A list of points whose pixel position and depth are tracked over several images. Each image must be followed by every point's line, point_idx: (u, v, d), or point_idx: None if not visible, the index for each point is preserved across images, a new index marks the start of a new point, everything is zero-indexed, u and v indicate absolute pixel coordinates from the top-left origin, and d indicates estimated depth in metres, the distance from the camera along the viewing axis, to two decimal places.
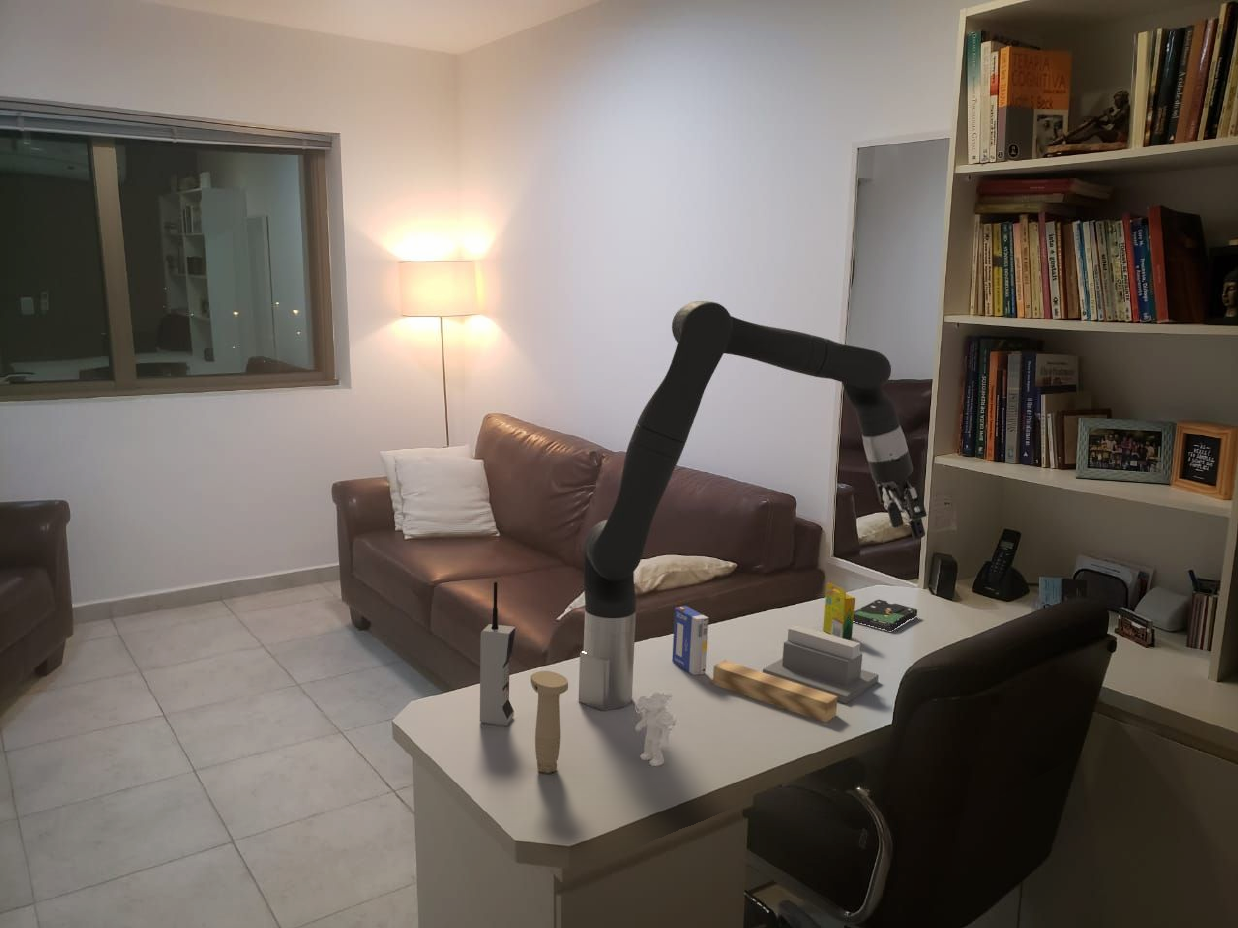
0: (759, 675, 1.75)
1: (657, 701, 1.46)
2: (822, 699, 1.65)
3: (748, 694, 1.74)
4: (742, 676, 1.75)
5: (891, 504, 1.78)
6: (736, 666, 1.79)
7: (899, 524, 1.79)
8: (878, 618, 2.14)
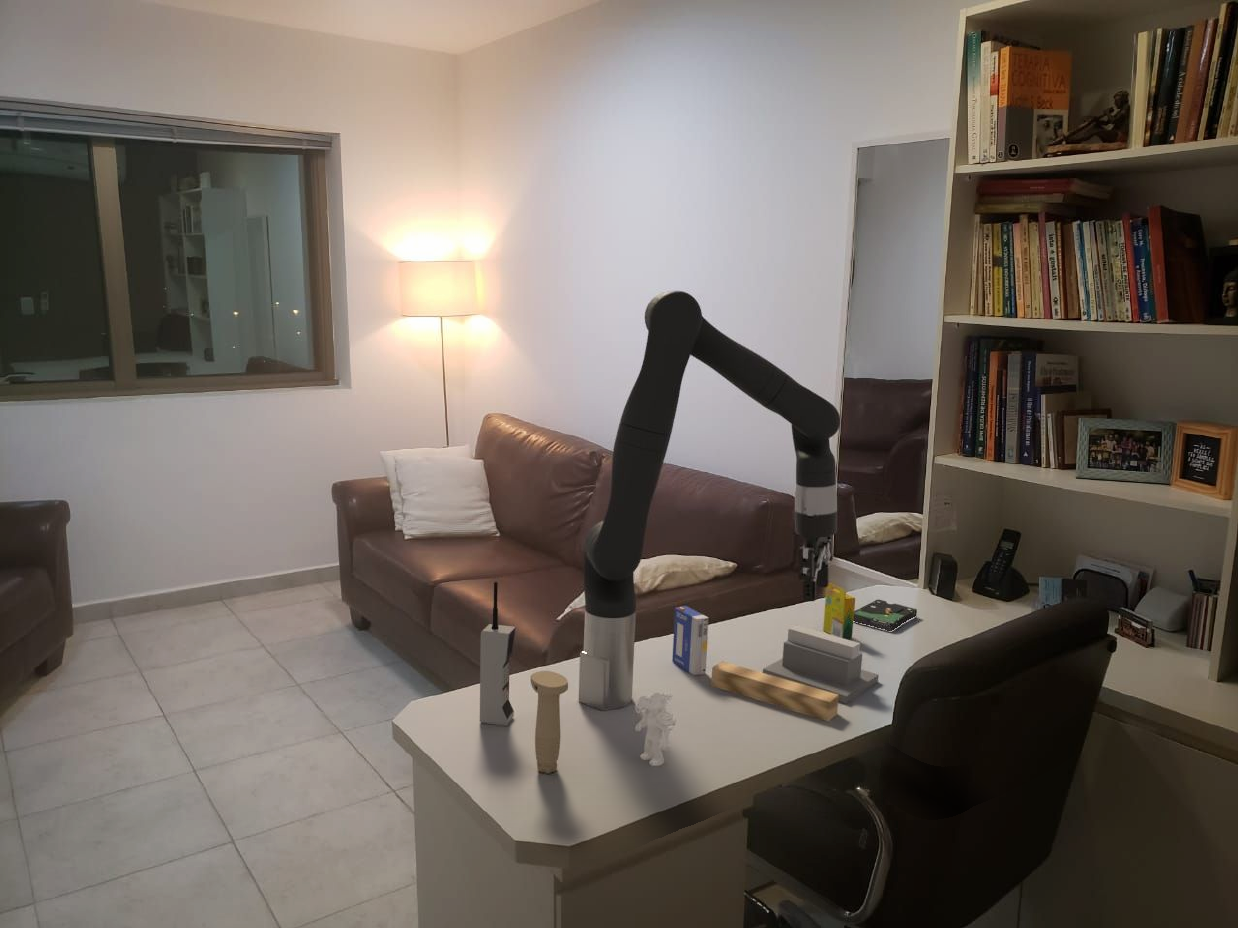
0: (758, 675, 1.75)
1: (657, 701, 1.46)
2: (824, 698, 1.66)
3: (748, 695, 1.74)
4: (742, 677, 1.74)
5: None
6: (734, 667, 1.78)
7: (822, 585, 1.74)
8: (878, 618, 2.14)
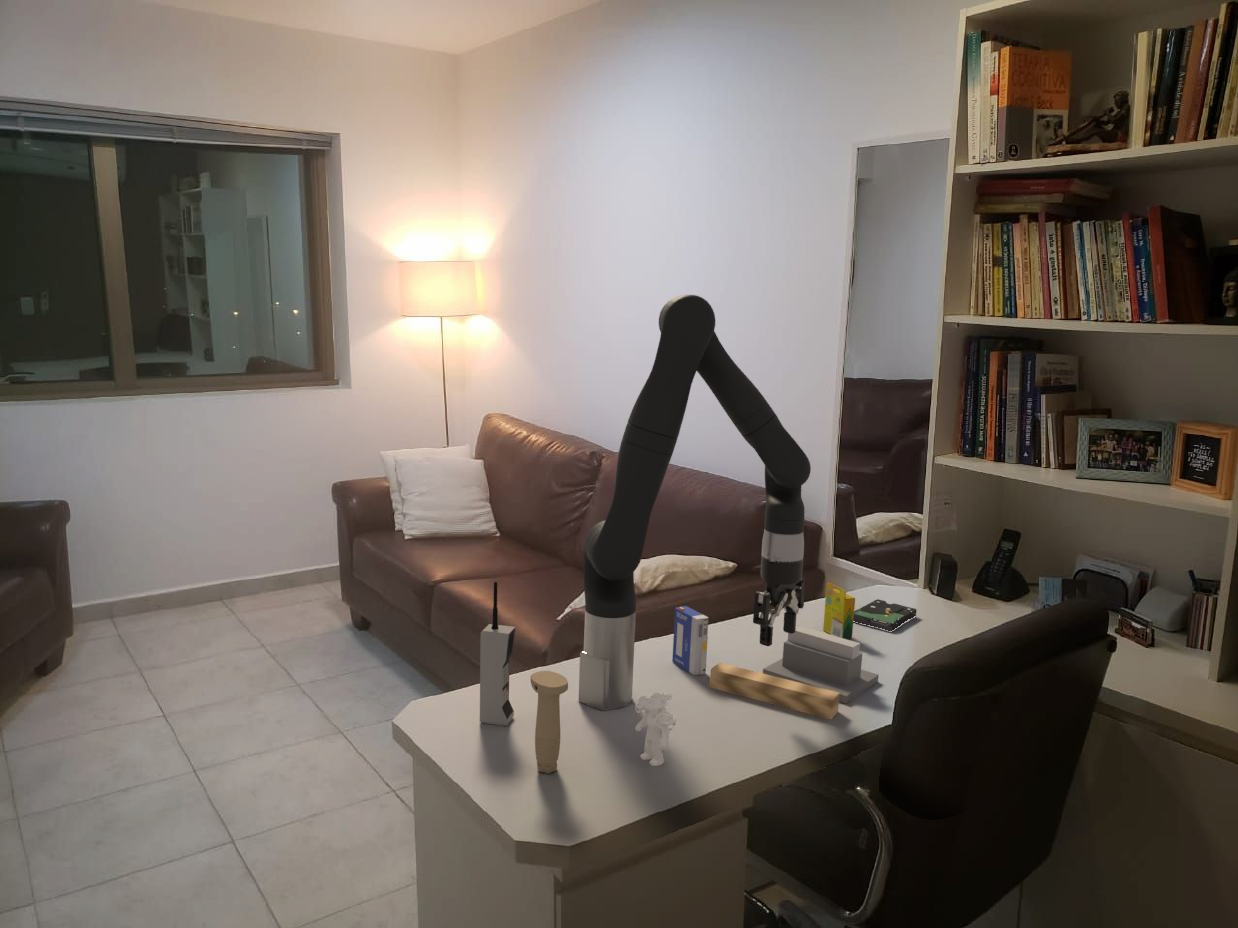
0: (757, 675, 1.75)
1: (657, 701, 1.46)
2: (826, 696, 1.66)
3: (748, 695, 1.74)
4: (742, 678, 1.74)
5: (789, 608, 1.74)
6: (732, 668, 1.78)
7: (789, 631, 1.74)
8: (878, 618, 2.14)
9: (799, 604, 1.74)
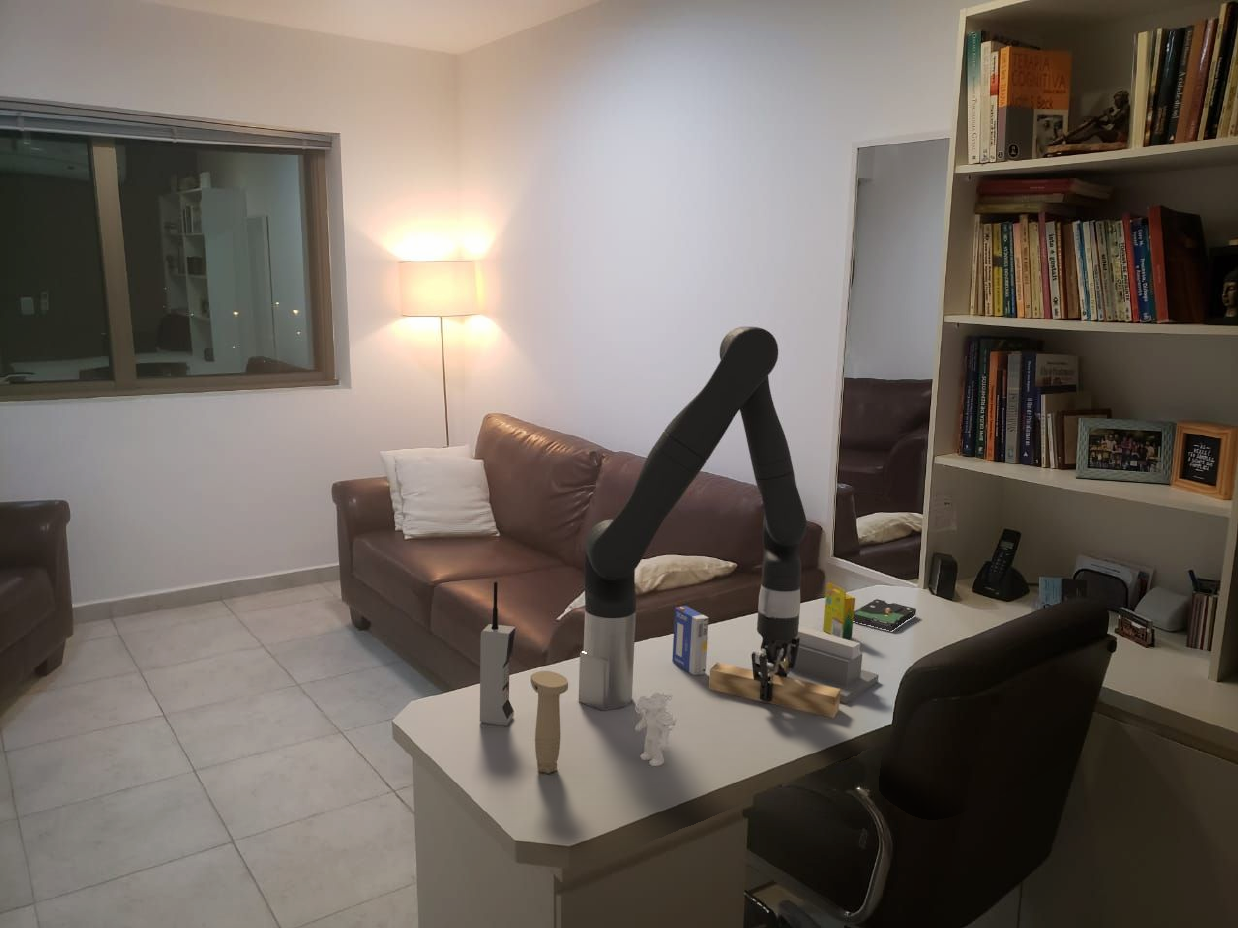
0: None
1: (657, 701, 1.46)
2: (829, 693, 1.67)
3: (749, 695, 1.73)
4: (742, 677, 1.73)
5: (780, 667, 1.75)
6: (731, 667, 1.77)
7: None
8: (879, 618, 2.14)
9: (790, 663, 1.75)
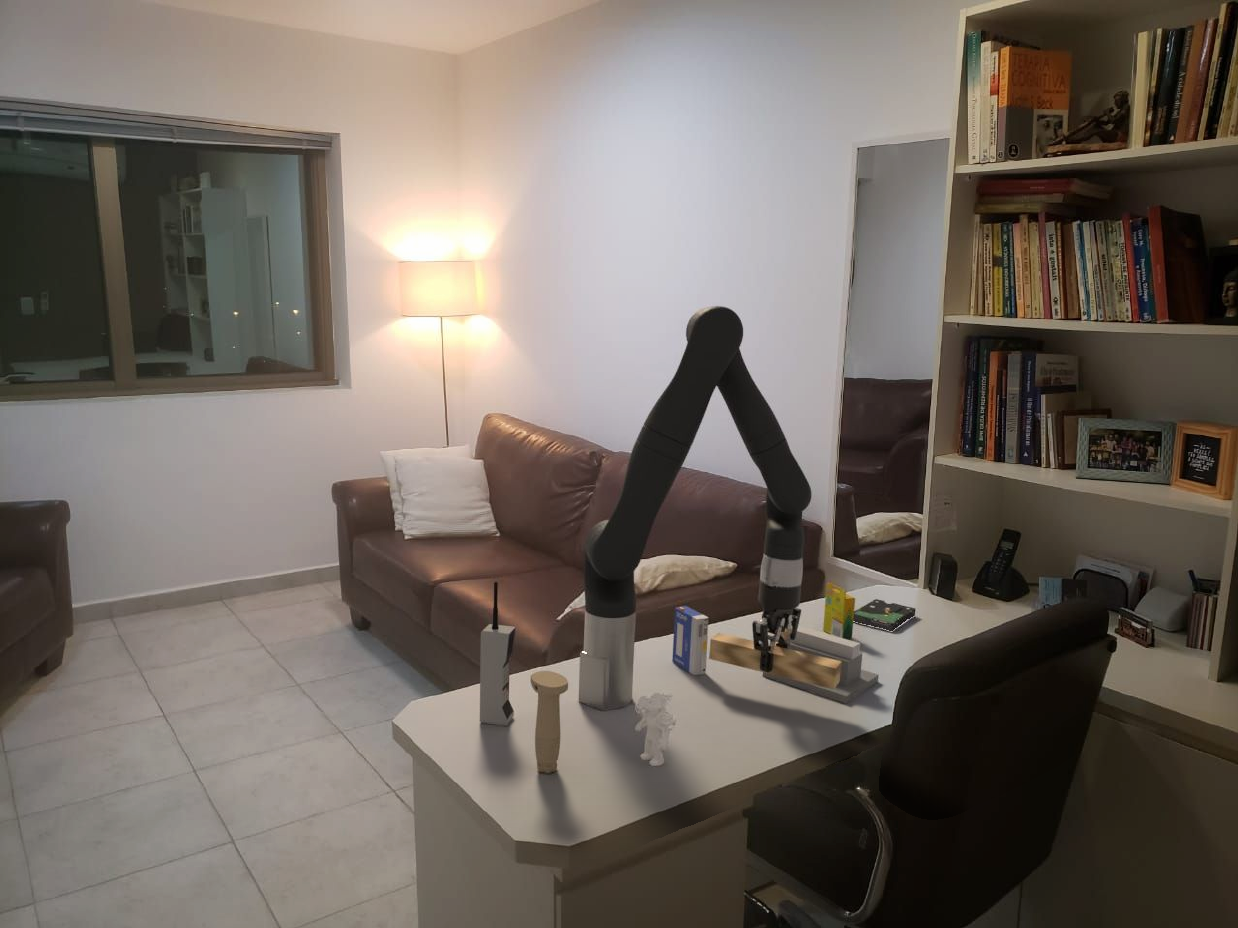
0: None
1: (657, 701, 1.46)
2: (829, 665, 1.66)
3: (749, 665, 1.72)
4: (742, 647, 1.72)
5: (781, 638, 1.73)
6: (732, 638, 1.76)
7: None
8: (879, 618, 2.14)
9: (791, 634, 1.74)
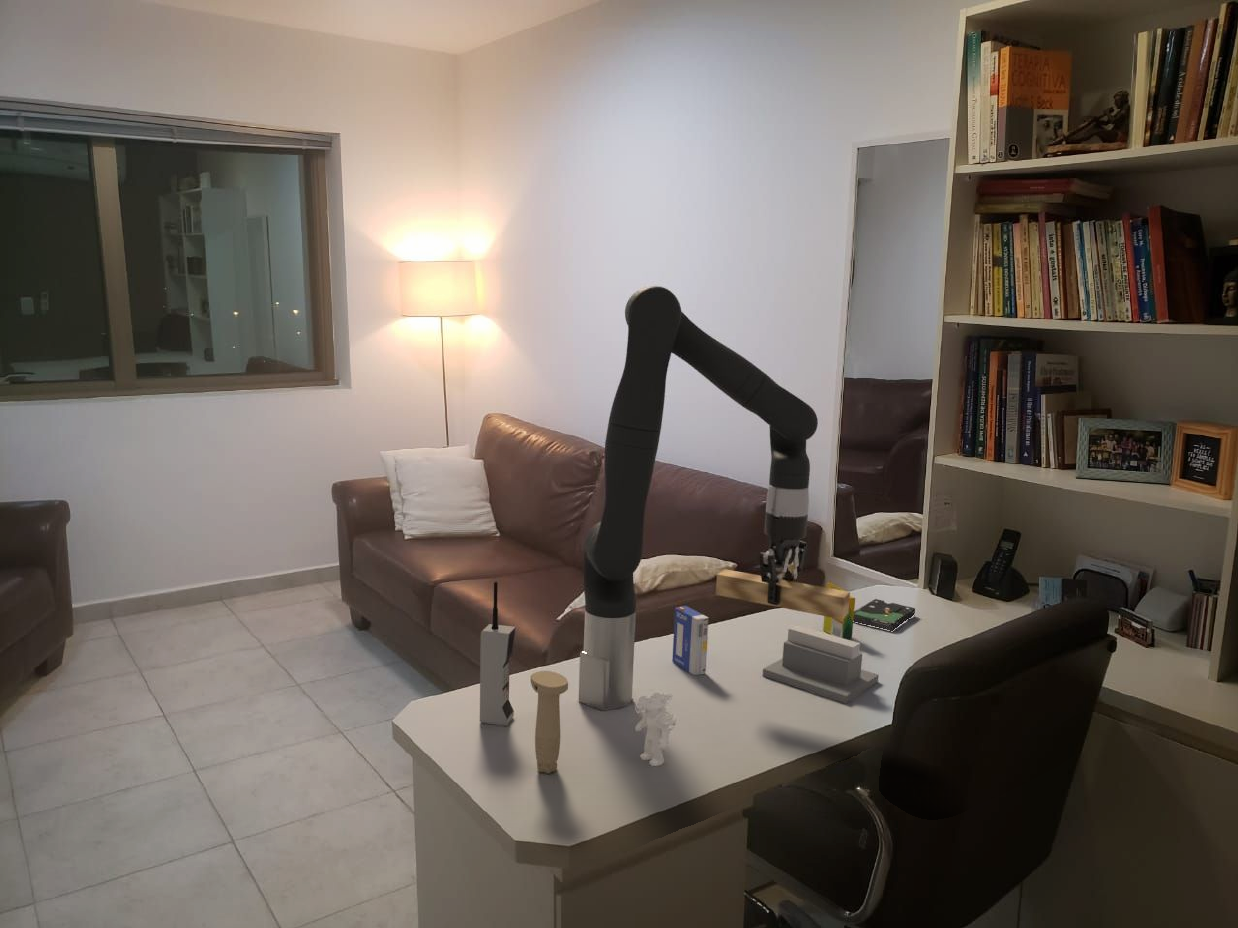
0: None
1: (657, 701, 1.46)
2: (837, 595, 1.64)
3: (756, 599, 1.70)
4: (749, 581, 1.70)
5: (788, 572, 1.71)
6: (739, 573, 1.74)
7: None
8: (879, 618, 2.14)
9: (798, 568, 1.72)
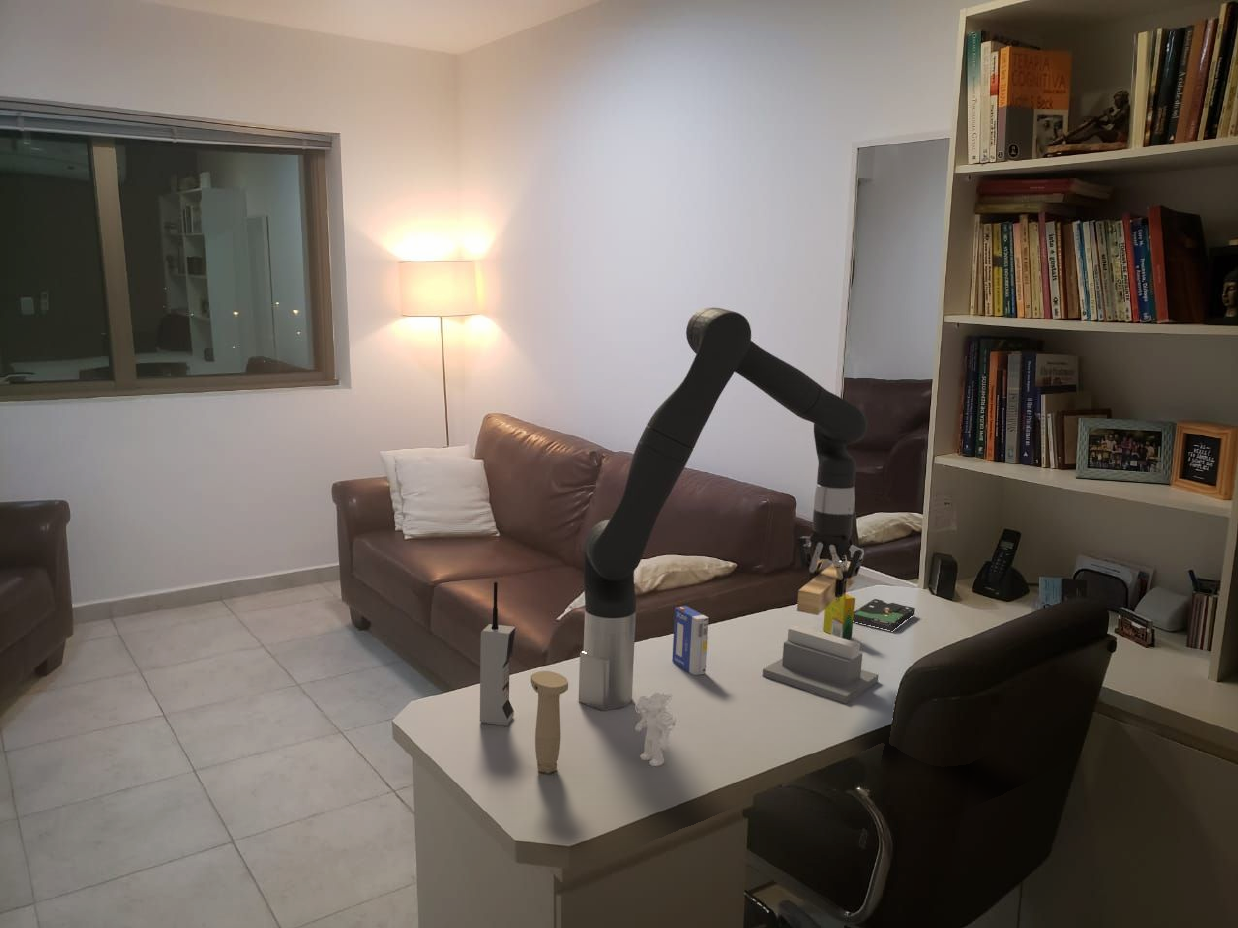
0: (821, 580, 1.77)
1: (657, 701, 1.46)
2: (849, 564, 1.88)
3: (831, 600, 1.76)
4: (830, 586, 1.74)
5: (816, 567, 1.81)
6: (809, 586, 1.73)
7: None
8: (879, 618, 2.14)
9: (811, 560, 1.83)
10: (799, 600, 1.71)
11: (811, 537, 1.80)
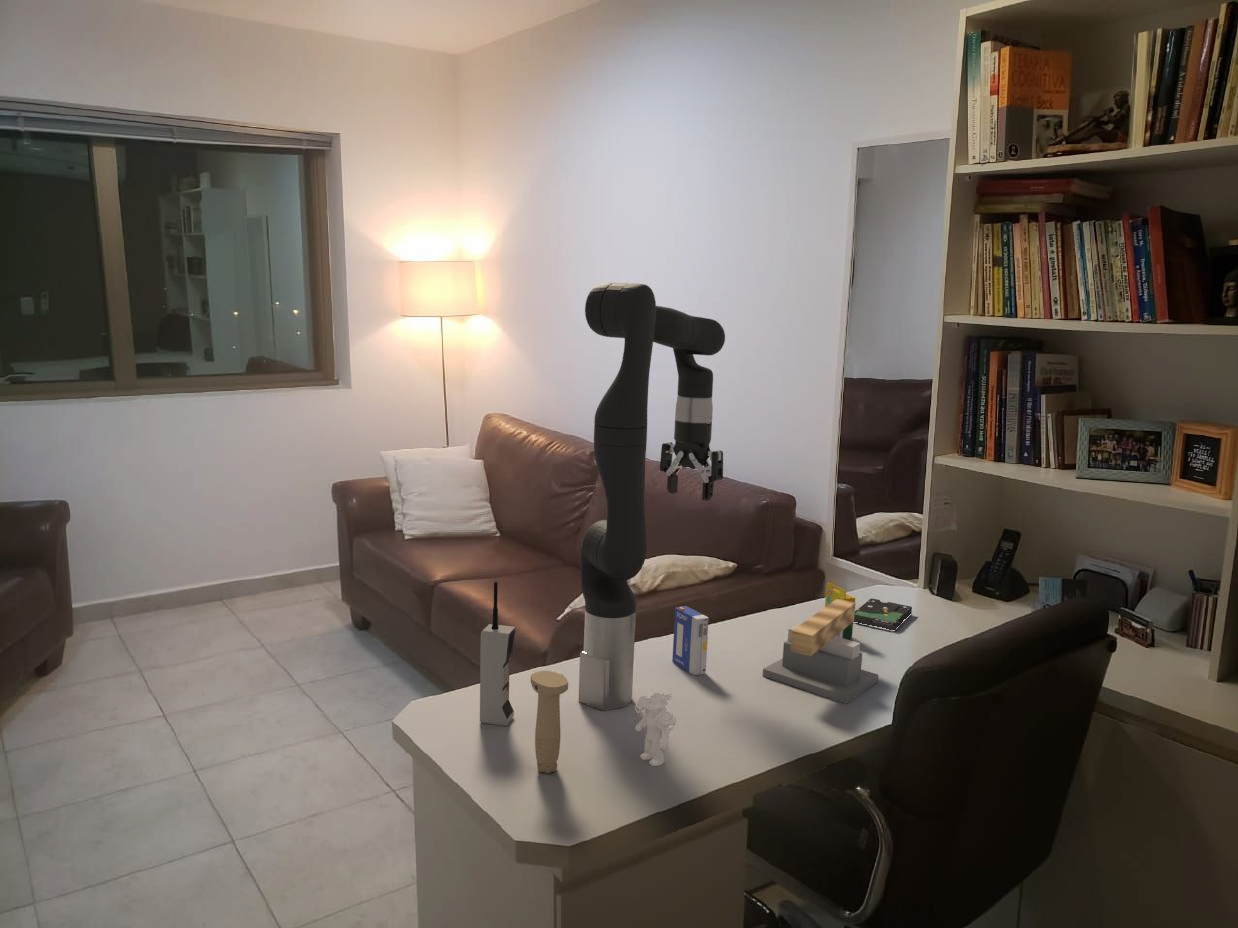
0: (817, 620, 1.79)
1: (657, 701, 1.46)
2: (849, 603, 1.89)
3: (826, 640, 1.78)
4: (824, 627, 1.76)
5: (673, 471, 1.92)
6: (804, 627, 1.75)
7: (674, 491, 1.93)
8: (880, 618, 2.14)
9: (670, 466, 1.94)
10: (792, 640, 1.73)
11: (674, 446, 1.90)
